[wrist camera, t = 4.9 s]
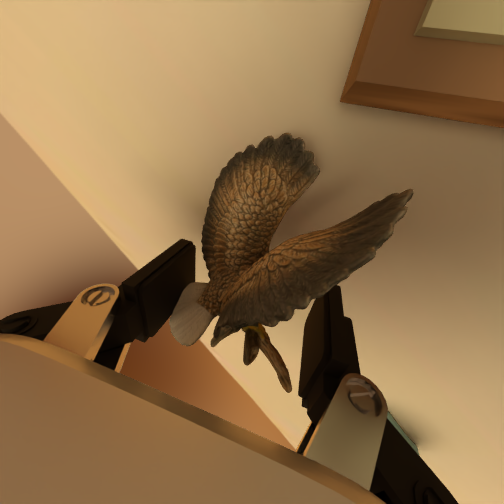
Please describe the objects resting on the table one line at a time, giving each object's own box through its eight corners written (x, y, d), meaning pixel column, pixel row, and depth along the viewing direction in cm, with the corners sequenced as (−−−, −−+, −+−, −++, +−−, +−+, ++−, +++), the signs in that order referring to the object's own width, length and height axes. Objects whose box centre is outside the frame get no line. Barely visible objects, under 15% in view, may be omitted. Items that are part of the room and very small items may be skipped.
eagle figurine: (340, 340, 11) (474, 179, 5) (232, 453, 8) (253, 359, 2) (253, 258, 15) (270, 116, 9) (156, 306, 12) (82, 126, 6)
